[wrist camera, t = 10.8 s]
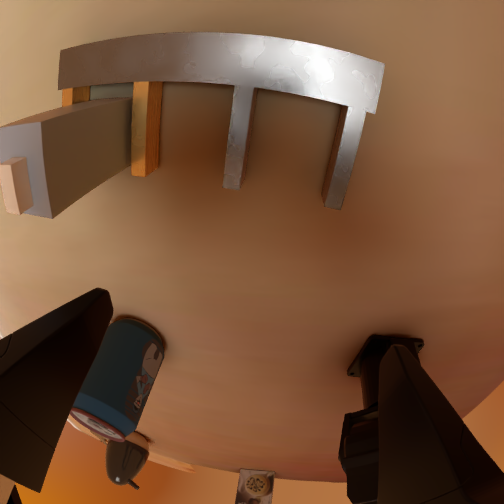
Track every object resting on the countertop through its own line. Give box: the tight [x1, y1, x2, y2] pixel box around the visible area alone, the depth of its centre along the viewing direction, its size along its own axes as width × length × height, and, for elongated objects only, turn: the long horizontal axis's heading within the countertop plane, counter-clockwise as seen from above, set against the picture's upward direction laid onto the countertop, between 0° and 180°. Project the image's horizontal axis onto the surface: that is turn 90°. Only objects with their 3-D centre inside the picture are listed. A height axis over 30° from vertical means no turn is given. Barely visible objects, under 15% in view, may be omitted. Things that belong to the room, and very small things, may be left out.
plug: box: [0, 98, 133, 219], centre depth 13 cm, size 4×4×10 cm
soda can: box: [70, 318, 164, 442], centre depth 24 cm, size 7×7×12 cm
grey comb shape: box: [58, 32, 385, 210], centre depth 15 cm, size 9×20×2 cm, turn 82°
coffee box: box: [235, 469, 275, 504], centre depth 52 cm, size 9×6×16 cm
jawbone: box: [90, 430, 109, 446], centre depth 64 cm, size 9×20×2 cm, turn 127°
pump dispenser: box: [105, 431, 149, 490], centre depth 47 cm, size 10×10×15 cm
